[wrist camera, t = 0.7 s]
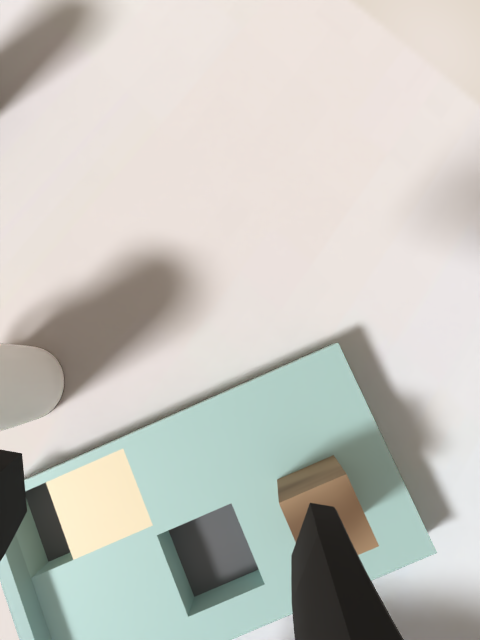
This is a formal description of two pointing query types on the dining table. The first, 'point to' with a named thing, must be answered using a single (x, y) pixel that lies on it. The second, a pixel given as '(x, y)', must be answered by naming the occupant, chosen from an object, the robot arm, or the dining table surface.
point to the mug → (27, 384)
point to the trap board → (201, 514)
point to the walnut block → (325, 500)
